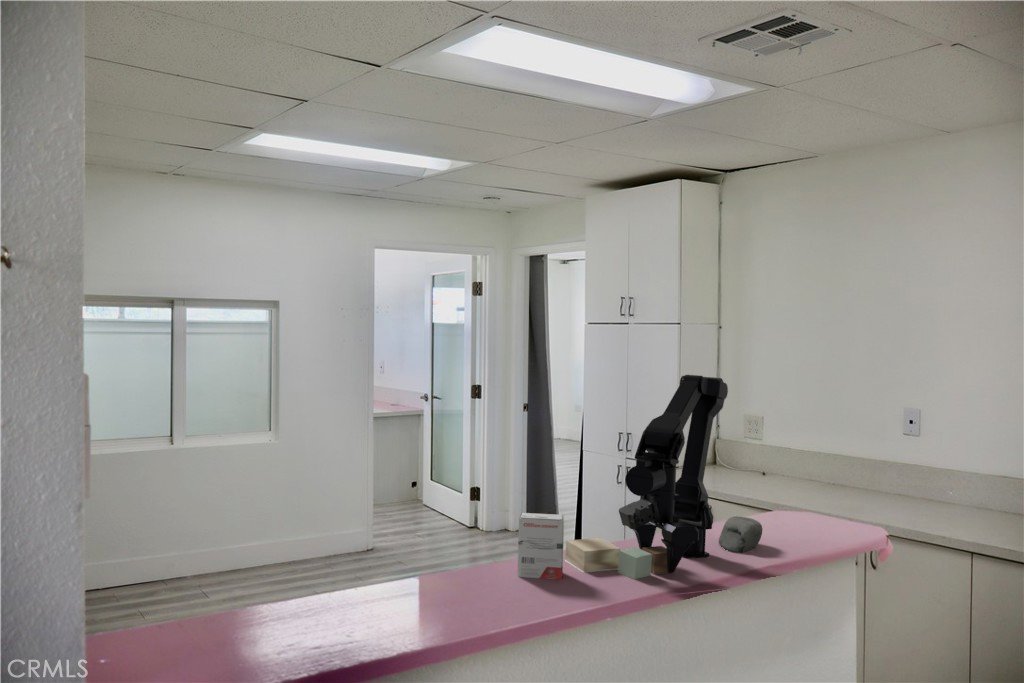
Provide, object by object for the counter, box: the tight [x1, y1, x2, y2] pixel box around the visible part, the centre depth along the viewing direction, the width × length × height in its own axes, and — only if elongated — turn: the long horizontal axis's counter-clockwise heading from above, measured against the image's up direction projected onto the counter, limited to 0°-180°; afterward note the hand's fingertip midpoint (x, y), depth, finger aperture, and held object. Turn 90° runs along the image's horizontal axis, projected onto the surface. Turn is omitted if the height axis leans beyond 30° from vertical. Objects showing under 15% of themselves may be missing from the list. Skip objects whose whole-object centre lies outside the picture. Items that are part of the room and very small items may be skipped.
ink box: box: [517, 512, 565, 581], centre depth 150 cm, size 9×5×12 cm, turn 84°
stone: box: [718, 515, 763, 553], centre depth 177 cm, size 9×9×10 cm
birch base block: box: [564, 537, 621, 573], centre depth 158 cm, size 8×8×4 cm
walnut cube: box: [642, 545, 669, 575], centre depth 156 cm, size 4×4×4 cm
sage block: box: [617, 546, 652, 580], centre depth 153 cm, size 4×4×4 cm
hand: (657, 565), depth 156 cm, fingers open, 9 cm apart
